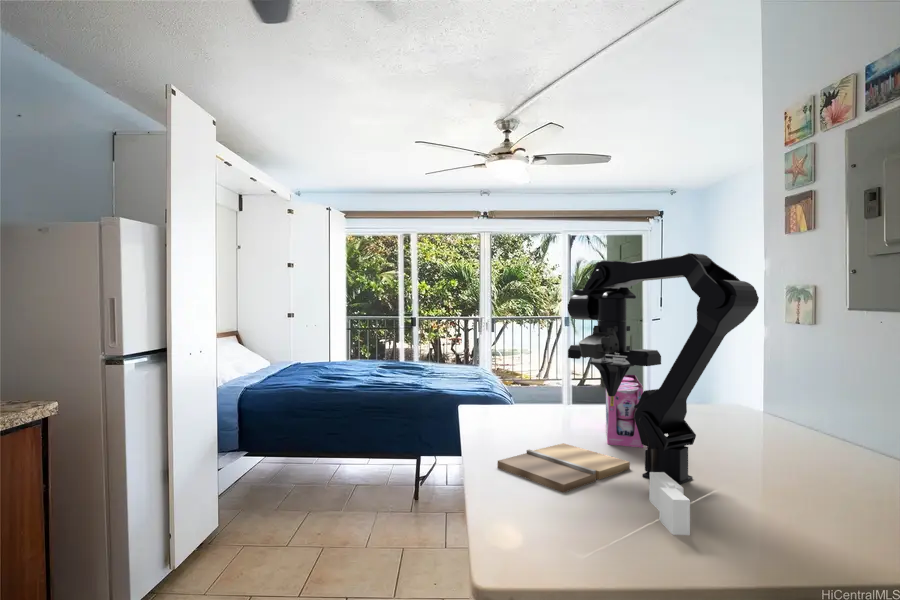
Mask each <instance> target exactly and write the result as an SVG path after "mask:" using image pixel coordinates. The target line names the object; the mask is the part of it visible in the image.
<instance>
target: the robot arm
mask: <svg viewBox="0 0 900 600" xmlns="http://www.w3.org/2000/svg"><path fill="white" fill-rule="evenodd" d="M676 278H677V279H678V278H685V280H686V281H687V283H688V286H689V287H690V289H691V290H692V292H693V293H694V294H695V295H697V297H698V298H699V300H698V302H697V306H696V323H695V325H694V328H693V329H692V330H691V333H690V335H689V336H688V338H687V340H686V342H685V343H684V345H683V346H682V348H681V350H680V352H679V354H678V355H677V357H676V359H675V361H674V363H673V364H672V366H671V368H670V369H669V370H668V373H667V374H666V376H665V378H664V379H663V382H662V383H661V385H660V387H659V388H657V389H648V390H646V389H645V390H643V393H642V395H641V398H640V400H639V402H638V404H637V405H635V406H634V408H637V409H636V411H635V413H634V419H635V422H636V425H637V429H638V432H639V436H640V439H641V443H642V445H643V446H645V447H646V449H645V450H644V471H645V472H644V473H641V474H642V476H641V477H642V478H645V479H648V480H650V472H664V473H666V474H667V475H668V476H669V477H671V478H672V479H673V480H674V481H675V482H677V483H678V484H679V485H680V486H682V485H684V484H685V483H688V482H689V481H691V480H693V476H692V475H689V446H692V445H694V443H695V440H696V438H697V434H696V433H695V432H694V430H693V429H692V428H691V427H690V424H688V422H687V421H686V420H685V418H686V416H687V414H688V413H687V412H688V409H687V408H688V406H687V405H688V403H687V401H688V398H689V396H690V395H691V392H692V391H693V389H694V388H695V386H696V384H697V383H698V381H699V379H700V378H701V376H702V374H703V373H704V371H705V370H706V368H707V366H708V364H709V363H710V361H711V360H712V358H713V357H714V355H715V353H716V352H717V350H718V348H719V346H720V345H721V344H722V341H724V338H725V337H726V336H727V334H729V333H730V332H731V331H732V330H734V329H735V328H737V327H738V326H739V325H741V324H742V323H744V321H745V320H746V319H747V318H748V317H749V315H751V313H752V312H754V310H755V309H756V307H757V306H758V303H759V296H758V293H757V292H758V291H757V290H756V288H755V287H754V285H752V283H750V282H747V281H744V280H741V279H739V278H738V276H736V275H734V274H733V273H732V272H731V271H728V270H726V269H725V268H723V267H721V266H720V265H718V264H717V263H715V262H714V260H712V259H711V258H710V257H709V256H707V255H706V254H703V253H702V254H701V253H690V252H687V253H685V254H682V255H676V256H667V257H663V258H662V257H661V258H653V259H647V260H638V261H618V260H607V259H606V260H605V259H602V260H599V261H597V262H596V265H595V266H594V268H593V271H592V272H591V274H590V276H589V278H588V280H587V281H586V283H585V285H584V287H583V289H581V288H579V289H577V288H576V289H575V290H574V295H572V296H571V297H570V299H569V300H568V303H567V312H568V315H569V316H570V318H572V319H574V320H577V321H578V320H583V321H584V320H585V321H597V325H593V328H592V334H590V335H588V336H586V337H584V338H582V339H581V340H580V341H578V344H571V345H569V347H568V349H567V358H568V359H574V360H579V359H581V358H584V359H586V358H591V361H589V364H590V365H591V366H594V367H595V368H596V369H597V370H598V372H599V374H600V376H601V379H602V381H603V384H604V387H605V391H606V390H607V393H608V396H611V397H613V396H615V394H616V392H617V390H618V388H619V386H620V384H621V382H622V380H623V378H624V376H625V375H627V372H628V371H629V369H630V368H631V367H635V366H637V367H638V366H641V367H651V366H659V365H662V355H661V353H660V351H658V350H657V349H644V348H639V349H631V346H630V345H627V336H628V335H627V333H628V332H631V326H630V325H627V323H628V321H627V318H628V317H627V315H628V314H627V310H628V309H627V308H628V307H627V303H628V302H627V301H628V300H635V299H636V298H637V296H636V295H635V293H633V292H632V291H631V290H630V289H629V287H633V286H636V285H637V284H639V283H641V282H647V281H655V280H668V279H676ZM666 435H667V436H666Z"/></svg>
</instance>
